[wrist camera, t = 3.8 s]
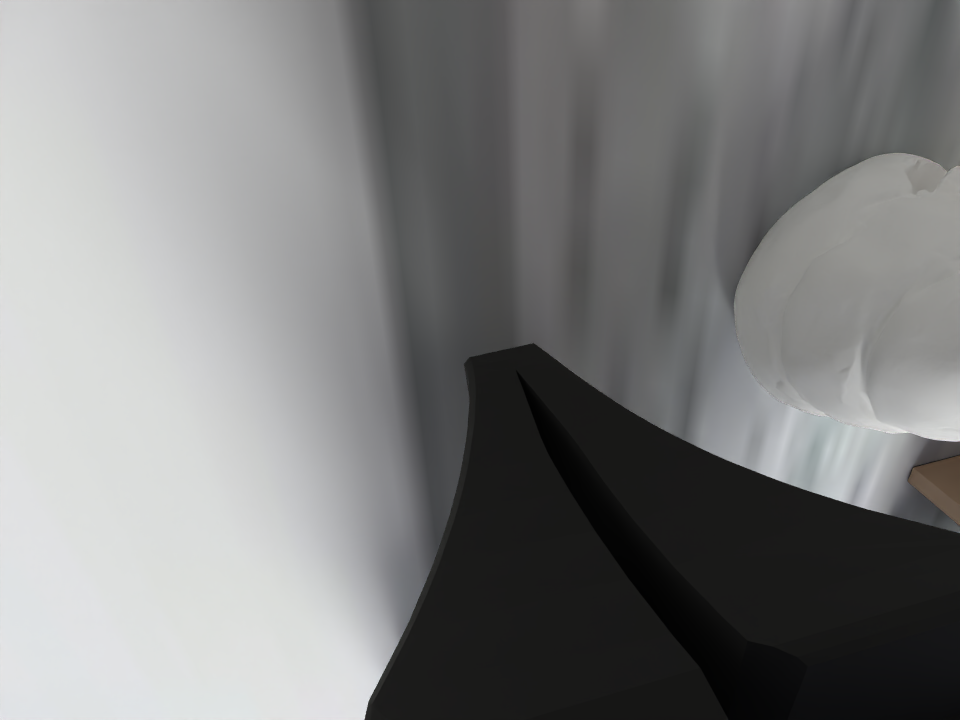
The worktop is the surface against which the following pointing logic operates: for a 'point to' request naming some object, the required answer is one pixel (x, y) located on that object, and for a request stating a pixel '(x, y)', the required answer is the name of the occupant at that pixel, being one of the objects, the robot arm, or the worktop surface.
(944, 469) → the storage box
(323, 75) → the worktop surface
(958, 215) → the garlic bulb
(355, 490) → the worktop surface
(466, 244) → the worktop surface
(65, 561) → the worktop surface
